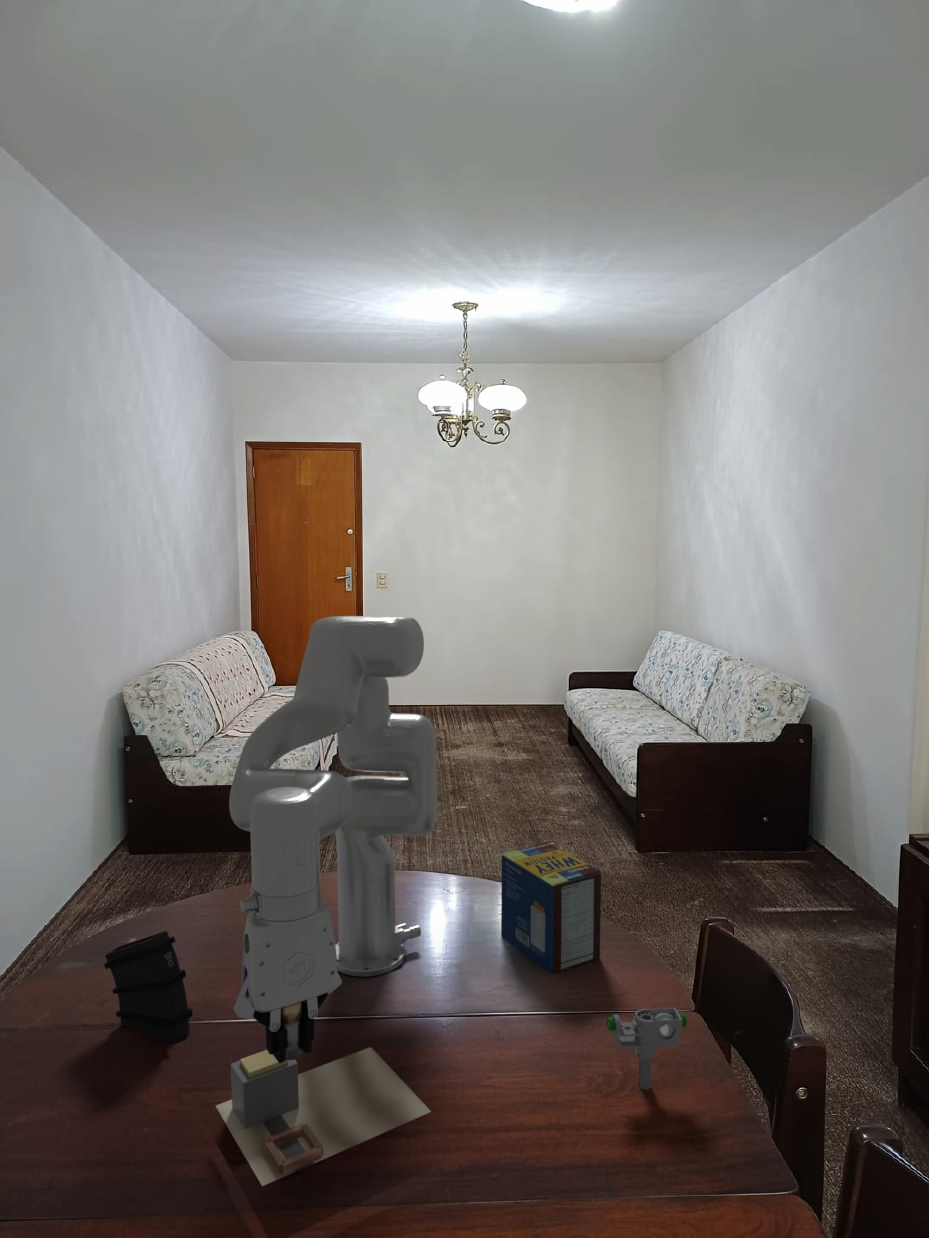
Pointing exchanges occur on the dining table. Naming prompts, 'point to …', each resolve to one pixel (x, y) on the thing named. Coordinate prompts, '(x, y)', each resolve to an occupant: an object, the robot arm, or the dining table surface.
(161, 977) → the magazine
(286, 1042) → the gold capped bottle
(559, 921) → the protein box
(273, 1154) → the board
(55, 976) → the dining table surface
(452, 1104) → the dining table surface
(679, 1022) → the mechanical component
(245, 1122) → the grey boxy piece
